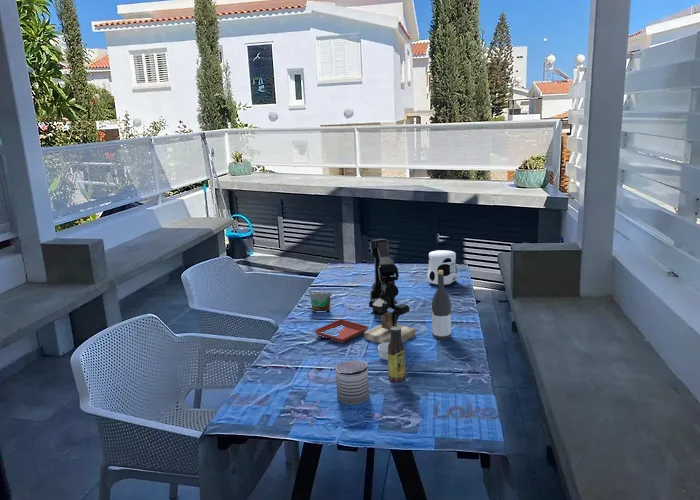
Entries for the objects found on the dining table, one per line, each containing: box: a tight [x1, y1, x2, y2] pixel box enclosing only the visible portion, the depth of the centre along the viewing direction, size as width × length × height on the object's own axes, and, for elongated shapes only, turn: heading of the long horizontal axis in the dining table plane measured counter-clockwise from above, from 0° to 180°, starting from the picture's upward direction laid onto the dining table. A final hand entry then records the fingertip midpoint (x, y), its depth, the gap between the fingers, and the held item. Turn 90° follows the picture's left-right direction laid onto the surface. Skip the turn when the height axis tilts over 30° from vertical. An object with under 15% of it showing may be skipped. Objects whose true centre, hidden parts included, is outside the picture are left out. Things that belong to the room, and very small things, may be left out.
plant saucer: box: [314, 318, 369, 343], centre depth 250 cm, size 18×18×3 cm
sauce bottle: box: [387, 327, 406, 383], centre depth 202 cm, size 6×6×20 cm
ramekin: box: [377, 342, 389, 361], centre depth 224 cm, size 9×9×4 cm
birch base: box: [363, 324, 416, 344], centre depth 244 cm, size 16×16×3 cm
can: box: [334, 359, 370, 405], centre depth 192 cm, size 11×11×12 cm
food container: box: [308, 290, 332, 311], centre depth 281 cm, size 12×6×10 cm, turn 68°
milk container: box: [427, 249, 459, 287], centre depth 316 cm, size 17×17×18 cm
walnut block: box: [380, 311, 398, 330], centre depth 242 cm, size 5×5×6 cm
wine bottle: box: [431, 270, 452, 340], centre depth 239 cm, size 8×8×30 cm
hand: (389, 324), depth 243 cm, fingers closed on walnut block, 5 cm apart
